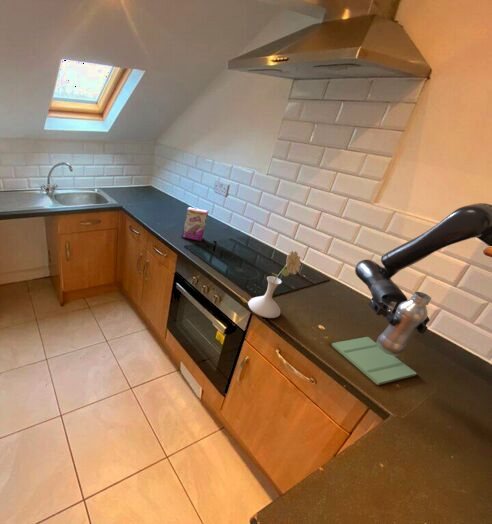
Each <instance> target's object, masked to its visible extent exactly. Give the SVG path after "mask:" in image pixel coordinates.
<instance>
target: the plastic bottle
mask: <svg viewBox="0 0 492 524" xmlns="http://www.w3.org/2000/svg"><path fill="white" fill-rule="evenodd" d="M431 300H432V297H431V296H430V295H428V294H426V293H424V292H422V291H414V292H413V294H412V295H411V296H410V299H407V301H404V302H402V303H401V304H399V306H398V307H397V310H396V312H395V316H396V318H397V319H398V322H397V324H396V325H395V326H392V325H391V324H390V323H389V324H388V325H387V327H386V328H385V329H384V330H383V332H381V334H379V335H378V336H377V339H376V343H377V346H378V348H379V349H380V350H381V351H383V352H384V353H386V354H389V355H392V356H394V357H397V356H400V355H401V354H403V352H405V349H406V347H407V344H408V342H409V340H410V338H411V336H412V335H413V333H415V331H417V329H416V328H417V327H418V326H419V325H420V324H421V323H422V322H423V321H424V320H425V319H426V318H427V316H428V314H429V313H428V308H427V306H428V305H429V304H430V302H431Z"/></svg>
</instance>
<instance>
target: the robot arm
mask: <svg viewBox="0 0 492 524" xmlns="http://www.w3.org/2000/svg"><path fill="white" fill-rule="evenodd" d="M475 238H476V239H477V240H479V241H481V242H482V243H484V244H485V245H487V246H488V247H489V246H492V204H489V203H486V202H485V203H483V202H478V203H472V204H468V205H464V206H461V207H458V208H457V209H455V210H453V211H452V212H451V213H450V214H449V215H447V216H446V217H444V218H443V219H442V220H441V221H439V222H438V223H437V224H435V225H434V226H432V227H430V229H428V230H426V231H425V232H423V233H422V234H420V235H418V236H416V237H414V238H413V239H410V240H408V241H407V242H405V243H402V244H400V245H398V246H397V247H395V248H393V249H391V250H389V251H387V252H386V253H384V254H382V256H381V257H380V262H381V264H382V265H380V264H379V263H377V262H375V261H374V260H371V259H362V260H360V261H359V262H357V263H356V265H355V268H354V273H355V275H356V277H357V278H358V279H359V280H360V281H362V283H364V285H366V286H367V289H368V291H370V295H371V296H372V297H371V298H370V300H369V302H368V305H369V307H370V308H371V310H372V311H373V313H375V315H377V316H382V317H383V318H384V319H386V321H387V322H388V323H389V325H390V324H391V325H392V326H395V325H396V324H397V322H398V319H397V318H396V316H395V312H396V310H397V307H398V306H399V304H401V303H402V302H404V301H407V300H408V298H407V295H405V293H404V292H403V291H402V289H401V288H400V287H399V286H398V285H397V284H396V283H395V282H394V280H393V279H392V278H393V277H394V276H395V275H396V274H398V273H399V272H401V271H403V270H405V269H406V268H409V267H410V266H413V265H414V264H417V263H419V262H420V261H422V260H424V259H426V258H427V257H429V256H431V255H432V254H433V253H435V252H437V251H440V250H442V249H443V248H446V247H449V246H451V245H454V244H457V243H461V242H464V241H467V240H470V239H475ZM430 320H431V319H430V317H429V316H428V315H427V318H426V319H425V320H424V321H423V322H422V323H421V324H420V325H419V326H418V327H417V328H416V331H418V334H419V333H420V334H425V332H426V331H428V328H429V327H428V326H427V324H428V323H429V322H430Z"/></svg>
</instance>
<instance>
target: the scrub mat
mask: <svg viewBox="0 0 492 524" xmlns="http://www.w3.org/2000/svg"><path fill="white" fill-rule="evenodd" d="M331 347H333V348H334V349H335V350H336V351H337V352H338V353H339V354H340V355H342V356H343V357H344V358H345V359H347V360H348V362H350V363H351V364H352V365H354V366H355V367H356V368H357V369H358V370H359V371H361V372H362V373H363V374H364V375H365V376H367V377H368V378H369V379H370V380H371V381H372V382H373V383H374V384H375V385H377V386H380V385H385V384H389V383H392V382H396V381H401V380H403V379H404V380H405V379H409V378H412V377H415V376H416V375H417V374H418V373H417V372H416V371H415V370H414V369H412V368H410V367H409V365H407V364H406V363H404V362H403V361H401V360H400V359H399V358H397V356H392V355H389V354H386V353H384V352H383V351H381V350H380V349H379V348H378V346H377V341H376V342H375V341H374V340H373V339H372V338H370V337H369V336H364V337H358V338H352V339H348V340H342V341H335V342H332V343H331Z"/></svg>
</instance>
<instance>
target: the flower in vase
mask: <svg viewBox="0 0 492 524" xmlns="http://www.w3.org/2000/svg"><path fill="white" fill-rule="evenodd" d="M301 262H302V261H301V256H299V254H298V252H297V251H294V250H291V251H290V252H289V254H287V257H286V261H285V263H286V264H285V265H284V267H283V268H282V269H281V270H280V272H278V274H277V273H275V272H271V275H269V276H267V277H266V280H267V289H266V291H265V293H264V295H260V296H255V297H252V298H250V299H249V301H248V302H247V306H248V307H249V309H250V311H252V312H253V314H255V315H257V316H259V317H261V318H264V319H265V318H266V319H276V318H278V317H279V316H280V315H281V308H280V307H279V304H277V303H276V301H275V300H274V299H273V295H274V292H275V290H276V289H277V287H278V286H279V285H281V284H283V281H282V280H281V278H279V277H280V275H281V274H282V276H283V277H288V276H289V275H290V274H291V275H297V273H299V272H300V269H301V266H302V263H301Z"/></svg>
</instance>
